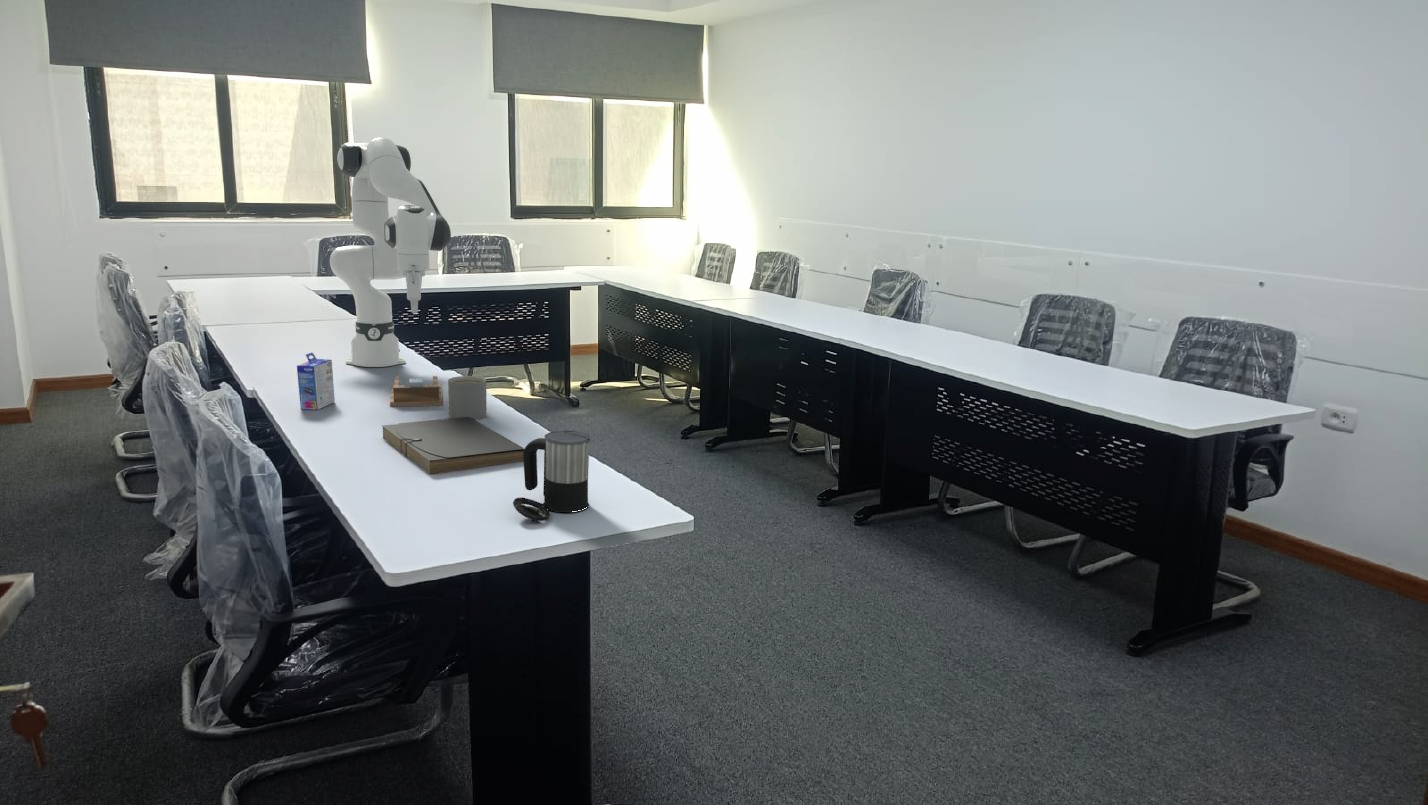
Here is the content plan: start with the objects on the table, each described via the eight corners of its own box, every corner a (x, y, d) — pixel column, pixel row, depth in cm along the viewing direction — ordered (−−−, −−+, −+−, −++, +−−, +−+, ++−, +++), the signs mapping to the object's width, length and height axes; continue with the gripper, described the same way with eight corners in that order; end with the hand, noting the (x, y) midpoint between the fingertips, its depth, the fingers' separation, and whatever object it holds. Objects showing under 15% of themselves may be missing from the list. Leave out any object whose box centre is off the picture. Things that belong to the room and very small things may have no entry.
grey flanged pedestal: (402, 396, 274) (401, 378, 272) (430, 395, 276) (429, 377, 275) (402, 401, 268) (401, 382, 267) (430, 400, 270) (430, 382, 269)
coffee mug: (490, 419, 258) (489, 382, 256) (452, 421, 254) (451, 384, 252) (479, 407, 270) (479, 372, 268) (443, 409, 266) (442, 374, 263)
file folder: (380, 424, 235) (475, 415, 249) (381, 440, 236) (474, 430, 250) (428, 459, 209) (530, 446, 223) (428, 477, 210) (530, 463, 224)
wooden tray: (392, 388, 287) (391, 371, 286) (440, 388, 291) (440, 371, 290) (390, 406, 266) (389, 388, 265) (442, 405, 271) (442, 387, 269)
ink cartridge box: (316, 401, 269) (314, 349, 265) (335, 402, 268) (333, 351, 265) (298, 409, 259) (295, 356, 256) (318, 410, 259) (315, 357, 255)
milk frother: (592, 499, 199) (593, 430, 196) (584, 527, 184) (585, 452, 180) (522, 497, 199) (523, 428, 195) (509, 524, 183) (509, 449, 180)
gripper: (425, 267, 265) (426, 317, 268) (424, 260, 284) (425, 307, 287) (401, 267, 263) (402, 317, 266) (402, 260, 282) (403, 307, 285)
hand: (414, 312), depth 277 cm, fingers closed
